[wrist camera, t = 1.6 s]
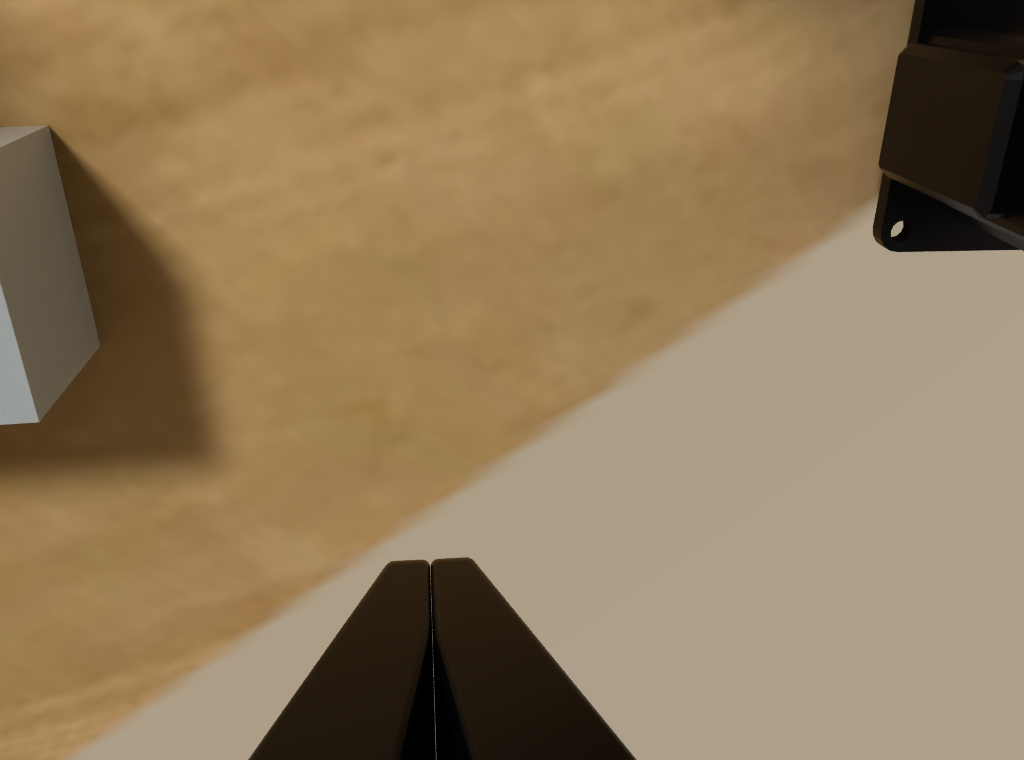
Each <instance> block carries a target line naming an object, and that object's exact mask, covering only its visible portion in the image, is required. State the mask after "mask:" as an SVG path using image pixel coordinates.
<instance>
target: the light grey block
mask: <svg viewBox="0 0 1024 760" xmlns="http://www.w3.org/2000/svg"><path fill="white" fill-rule="evenodd" d="M99 347H100V342H99V338H98V333H97V329H96V325H95V321H94V316H93V312H92V308H91V304H90V299H89V295H88V291H87V287H86V282H85V278H84V274H83V270H82V265H81V261H80V257H79V253H78V248H77V244H76V240H75V235H74V231H73V227H72V223H71V218H70V214H69V210H68V206H67V201H66V197H65V193H64V189H63V184H62V180H61V176H60V172H59V167H58V163H57V159H56V155H55V150H54V146H53V142H52V138H51V133H50V129H49V125H44V126H18V127H0V425H5V424H21V423H36V422H40V421H41V419H42V418H43V417H44V416H45V414H46V413H47V412H48V411H49V409H50V408H51V407H52V406H53V404H54V403H55V402H56V401H57V400H58V398H59V397H60V396H61V395H62V393H63V392H64V391H65V390H66V388H67V387H68V386H69V385H70V383H71V382H72V381H73V380H74V378H75V377H76V376H77V375H78V373H79V372H80V371H81V370H82V368H83V367H84V366H85V365H86V363H87V362H88V361H89V360H90V358H91V357H92V356H93V355H94V353H95V352H96V351H97V350H98V348H99Z"/></svg>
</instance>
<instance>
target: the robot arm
mask: <svg viewBox="0 0 1024 760" xmlns="http://www.w3.org/2000/svg"><path fill="white" fill-rule="evenodd" d="M879 167H880V168H881V170H882V171H883V176H882V182H881V187H880V192H879V198H878V203H877V208H876V214H875V219H874V225H873V236H874V238H875V240H876V241H877V242H878V243H879V244H880V245H882V246H883V247H885V248H887V249H888V250H890V251H895V252H922V251H973V250H1023V251H1024V0H915V5H914V11H913V16H912V21H911V27H910V32H909V37H908V43H907V47H906V48H905V49H904V50H903V51H902V52H901V53H900V54H899V56H898V61H897V66H896V72H895V77H894V83H893V88H892V94H891V99H890V104H889V110H888V115H887V121H886V126H885V132H884V137H883V142H882V148H881V153H880V159H879ZM899 221H903V226H904V227H903V229H902V231H901V233H899V234H898V235H897V236H894V237H891V230H892V227H893V226H894V225H895V224H896V223H897V222H899ZM431 599H432V612H431ZM432 632H433V644H432ZM433 664H434V677H433ZM434 696H435V711H434ZM435 727H436V744H435ZM436 755H437V756H436ZM436 757H437V758H436ZM436 759H437V760H636V759H635V757H634V756H633V755H632V754H631V752H630V751H629V750H628V749H627V748H626V746H625V745H624V744H623V743H622V741H620V739H619V738H618V737H617V735H616V734H615V733H614V732H613V731H612V729H611V728H610V727H609V726H608V724H607V723H606V722H605V721H604V719H603V718H602V717H601V716H600V715H599V713H598V712H597V711H596V710H595V708H594V707H593V706H592V705H591V704H590V702H589V701H588V700H587V699H586V697H585V696H584V695H583V694H582V693H581V691H580V690H579V689H578V688H577V686H576V685H575V684H574V683H573V682H572V680H571V679H570V678H569V677H568V675H567V674H566V673H565V672H564V670H563V669H562V668H561V667H560V666H559V664H558V663H557V662H556V661H555V659H554V658H553V657H552V656H551V655H550V653H549V652H548V651H547V650H546V649H545V647H544V646H543V645H542V644H541V642H540V641H539V640H538V639H537V638H536V636H535V635H534V634H533V633H532V631H531V630H530V629H529V628H528V627H527V625H526V624H525V623H524V622H523V620H522V619H521V618H520V617H519V616H518V614H517V613H516V612H515V611H514V609H513V608H512V607H511V606H510V605H509V603H508V602H507V601H506V600H505V598H504V597H503V596H502V595H501V593H500V592H499V591H498V590H497V589H496V587H495V586H494V585H493V584H492V582H491V581H490V580H489V579H488V578H487V576H486V575H485V574H484V573H483V572H482V570H481V569H480V568H479V567H478V565H477V564H476V563H475V562H474V561H473V560H472V559H470V558H467V557H466V558H446V559H436V560H434V561H433V562H432V564H431V581H430V565H429V563H428V562H427V561H426V560H405V561H392V562H390V563H388V564H387V565H386V566H385V568H384V569H383V570H382V572H381V573H380V575H379V576H378V577H377V579H376V580H375V582H374V583H373V584H372V586H371V587H370V589H369V590H368V592H367V593H366V594H365V596H364V597H363V599H362V600H361V601H360V603H359V605H358V606H357V607H356V609H355V610H354V611H353V613H352V614H351V616H350V617H349V618H348V620H347V621H346V623H345V624H344V625H343V627H342V628H341V630H340V631H339V632H338V634H337V635H336V637H335V638H334V639H333V641H332V642H331V644H330V645H329V647H328V648H327V649H326V651H325V652H324V654H323V655H322V656H321V658H320V660H319V661H318V662H317V663H316V665H315V666H314V668H313V669H312V671H311V672H310V673H309V675H308V676H307V678H306V679H305V680H304V682H303V684H302V685H301V686H300V687H299V689H298V690H297V692H296V693H295V695H294V696H293V697H292V699H291V700H290V702H289V703H288V705H287V706H286V707H285V709H284V710H283V711H282V713H281V714H280V716H279V717H278V719H277V720H276V721H275V723H274V724H273V726H272V727H271V728H270V730H269V731H268V733H267V734H266V735H265V737H264V738H263V740H262V741H261V743H260V744H259V745H258V747H257V748H256V750H255V751H254V753H253V754H252V755H251V757H250V758H249V759H248V760H436Z"/></svg>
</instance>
